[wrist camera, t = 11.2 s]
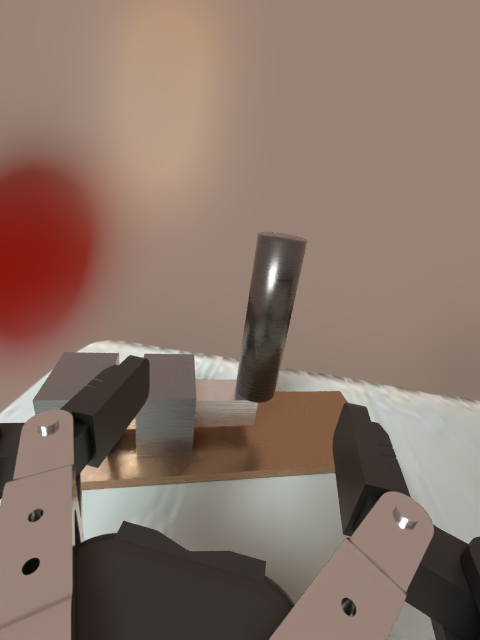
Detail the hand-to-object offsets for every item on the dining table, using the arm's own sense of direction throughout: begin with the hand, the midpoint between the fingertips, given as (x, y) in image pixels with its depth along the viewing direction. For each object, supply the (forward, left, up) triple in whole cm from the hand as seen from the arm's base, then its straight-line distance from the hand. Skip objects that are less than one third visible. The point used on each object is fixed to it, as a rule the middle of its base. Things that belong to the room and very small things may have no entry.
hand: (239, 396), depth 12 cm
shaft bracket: (-1, -10, -12) cm, 15 cm away
